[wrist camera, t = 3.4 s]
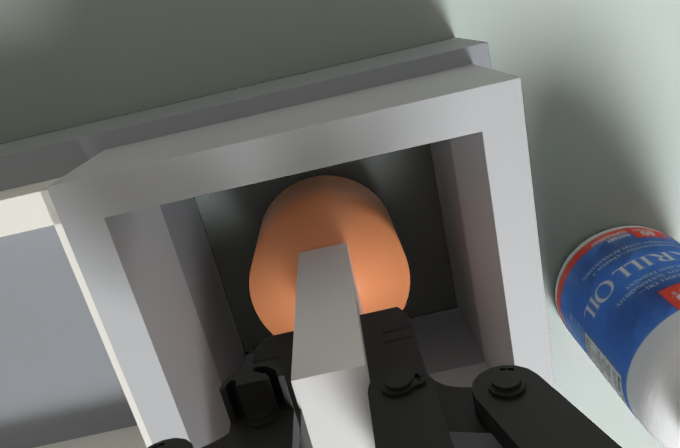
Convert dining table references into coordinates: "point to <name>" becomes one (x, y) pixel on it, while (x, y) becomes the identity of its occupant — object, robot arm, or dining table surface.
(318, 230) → the orange rounded object
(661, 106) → the dining table surface
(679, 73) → the dining table surface
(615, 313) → the pill bottle
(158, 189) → the grey compartment organizer
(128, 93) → the dining table surface
